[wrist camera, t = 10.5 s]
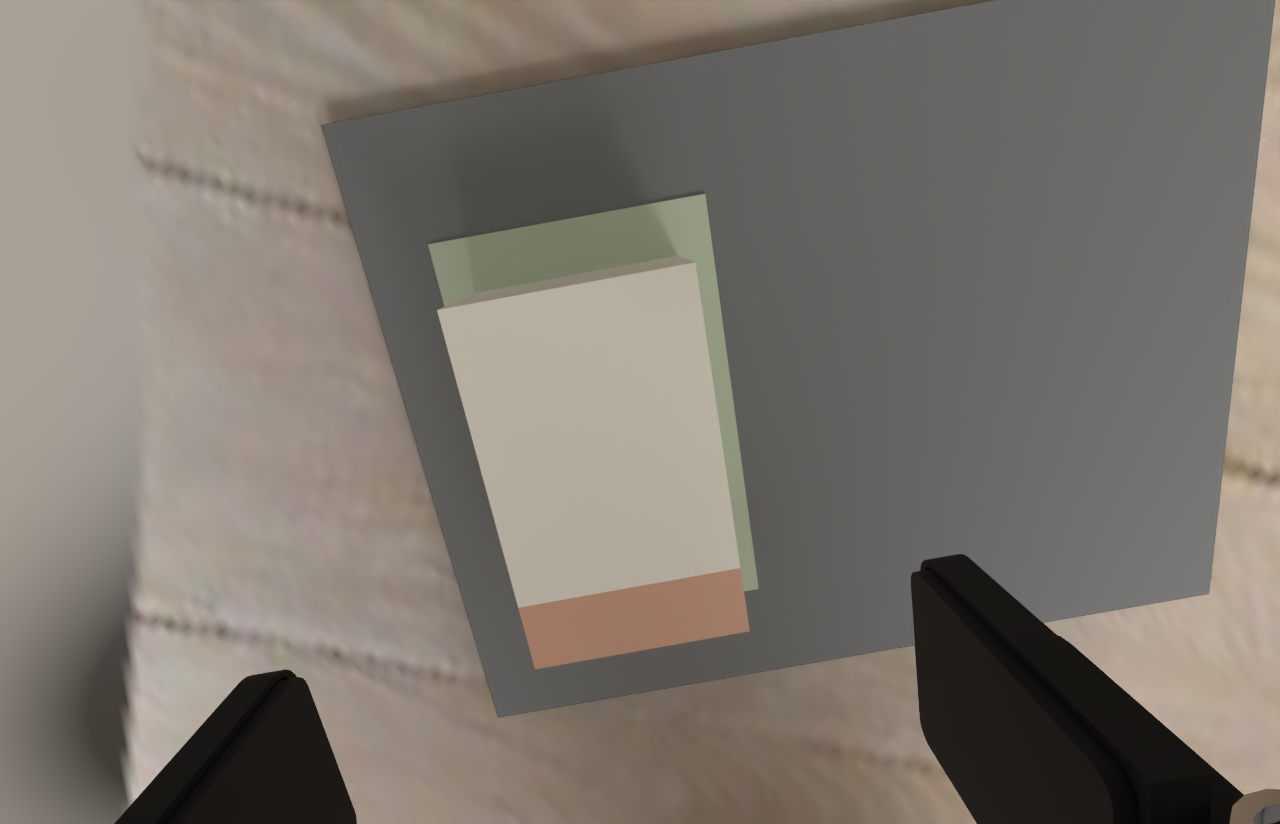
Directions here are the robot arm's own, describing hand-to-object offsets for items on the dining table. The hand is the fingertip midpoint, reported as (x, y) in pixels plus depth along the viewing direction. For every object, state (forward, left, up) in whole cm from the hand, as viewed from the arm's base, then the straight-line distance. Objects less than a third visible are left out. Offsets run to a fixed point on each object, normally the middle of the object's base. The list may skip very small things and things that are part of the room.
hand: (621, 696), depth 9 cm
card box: (+1, 0, -11) cm, 11 cm away
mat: (+1, -7, -11) cm, 13 cm away
